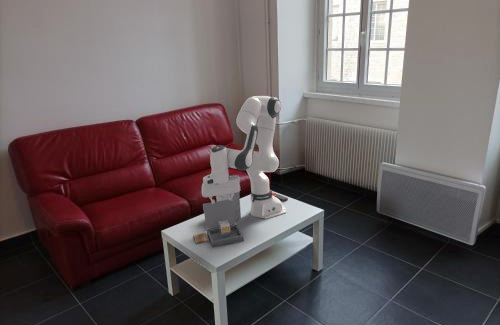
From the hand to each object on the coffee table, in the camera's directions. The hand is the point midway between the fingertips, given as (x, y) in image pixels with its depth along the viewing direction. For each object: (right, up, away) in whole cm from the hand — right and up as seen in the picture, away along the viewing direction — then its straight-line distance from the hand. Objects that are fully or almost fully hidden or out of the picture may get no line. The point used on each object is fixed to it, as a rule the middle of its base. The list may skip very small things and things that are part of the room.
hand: (222, 202), depth 191 cm
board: (-12, -21, +7) cm, 25 cm away
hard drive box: (+2, -13, +32) cm, 34 cm away
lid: (-2, -8, +13) cm, 15 cm away
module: (+1, -19, +6) cm, 20 cm away
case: (+1, -20, +7) cm, 21 cm away
